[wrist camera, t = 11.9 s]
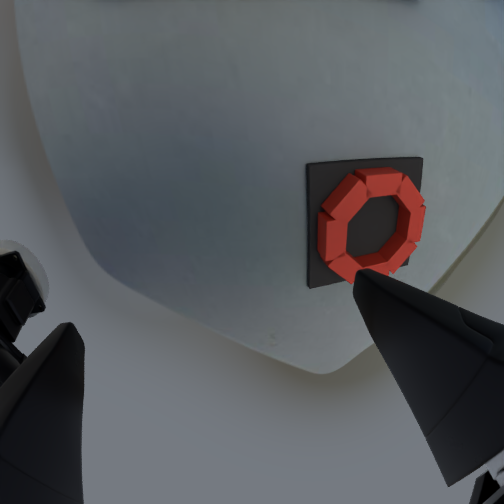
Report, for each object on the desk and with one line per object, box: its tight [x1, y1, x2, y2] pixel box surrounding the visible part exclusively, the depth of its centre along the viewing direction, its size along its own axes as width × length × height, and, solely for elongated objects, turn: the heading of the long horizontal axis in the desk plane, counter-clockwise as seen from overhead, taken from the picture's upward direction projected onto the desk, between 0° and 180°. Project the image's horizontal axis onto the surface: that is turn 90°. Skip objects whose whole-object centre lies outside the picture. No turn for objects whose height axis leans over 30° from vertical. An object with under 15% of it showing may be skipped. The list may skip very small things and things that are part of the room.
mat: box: [307, 157, 423, 289], centre depth 22 cm, size 10×10×1 cm
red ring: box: [317, 167, 426, 284], centre depth 21 cm, size 9×9×2 cm
